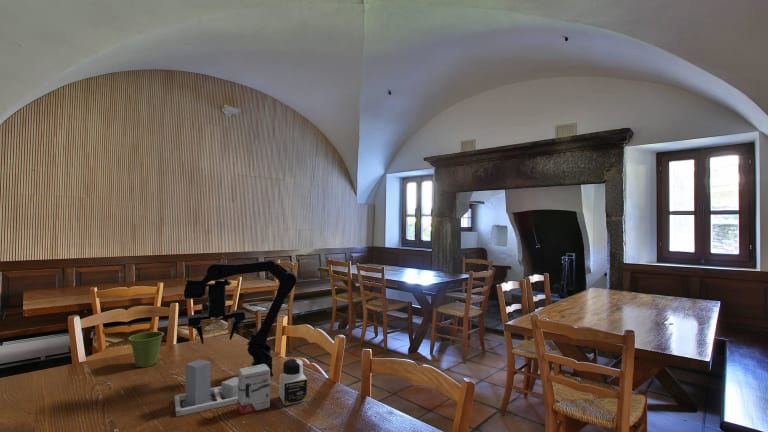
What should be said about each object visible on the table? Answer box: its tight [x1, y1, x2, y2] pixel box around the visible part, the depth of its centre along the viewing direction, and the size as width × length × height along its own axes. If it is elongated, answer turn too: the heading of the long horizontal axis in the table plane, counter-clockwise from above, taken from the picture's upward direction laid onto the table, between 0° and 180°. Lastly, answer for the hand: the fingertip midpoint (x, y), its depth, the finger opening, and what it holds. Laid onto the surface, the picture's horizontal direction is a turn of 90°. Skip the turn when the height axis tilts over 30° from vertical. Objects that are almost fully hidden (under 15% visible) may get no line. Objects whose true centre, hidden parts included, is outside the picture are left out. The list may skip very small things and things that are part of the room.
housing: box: [174, 386, 238, 418], centre depth 124 cm, size 22×12×2 cm, turn 120°
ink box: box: [237, 364, 271, 415], centre depth 119 cm, size 8×5×12 cm, turn 123°
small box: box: [220, 376, 238, 399], centre depth 127 cm, size 6×6×5 cm
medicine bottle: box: [278, 358, 308, 406], centre depth 125 cm, size 7×7×12 cm
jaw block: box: [185, 358, 212, 406], centre depth 121 cm, size 5×5×12 cm
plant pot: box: [128, 330, 165, 368], centre depth 153 cm, size 12×12×11 cm
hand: (216, 341), depth 140 cm, fingers open, 9 cm apart
